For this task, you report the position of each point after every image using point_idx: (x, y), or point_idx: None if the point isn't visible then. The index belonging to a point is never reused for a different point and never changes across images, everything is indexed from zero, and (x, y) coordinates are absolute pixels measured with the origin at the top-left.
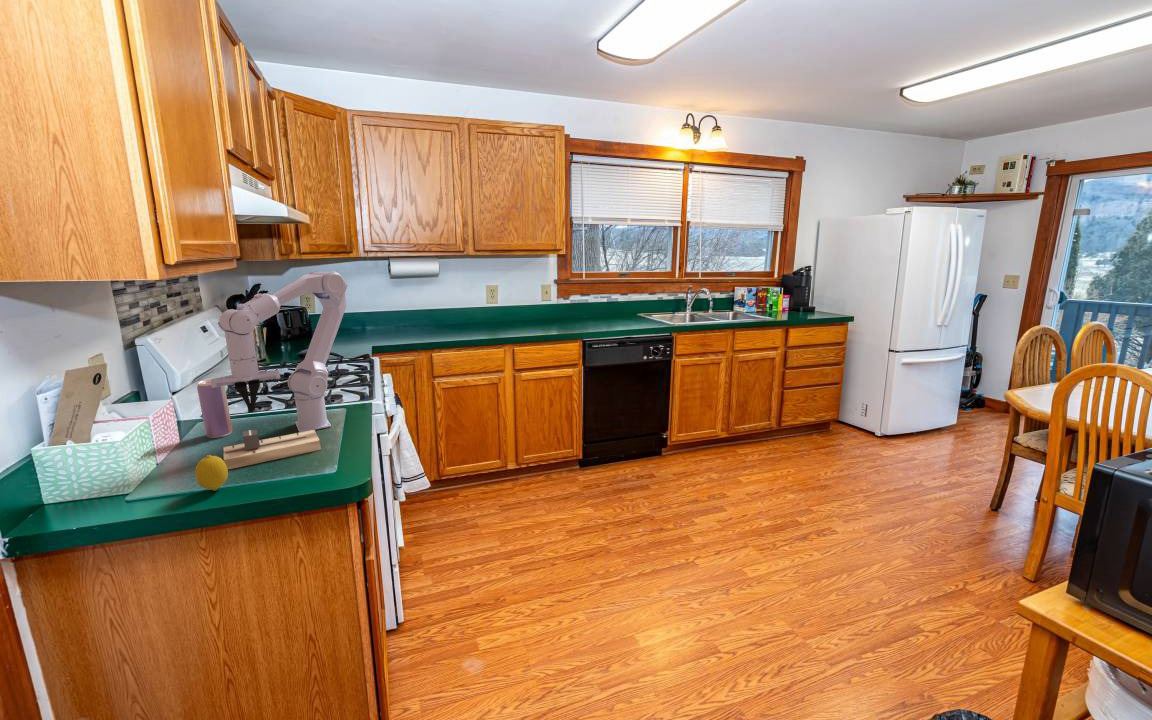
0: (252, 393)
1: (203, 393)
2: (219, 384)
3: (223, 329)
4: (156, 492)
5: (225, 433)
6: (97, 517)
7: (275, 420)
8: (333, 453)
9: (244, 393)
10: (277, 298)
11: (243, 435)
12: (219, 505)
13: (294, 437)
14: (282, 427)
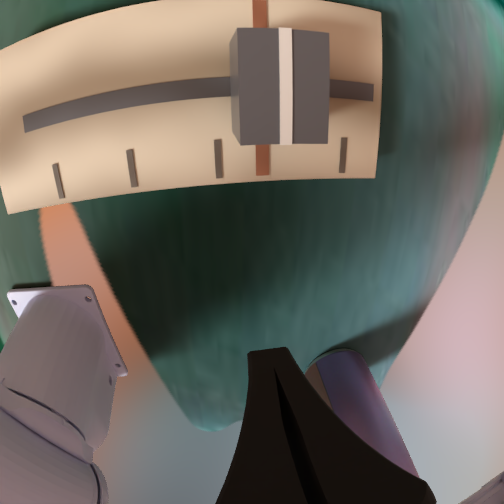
0: (272, 473)
1: (411, 467)
2: (494, 493)
3: None
4: (489, 16)
5: (325, 358)
6: None
7: (192, 407)
8: None
9: (347, 468)
10: None
11: (326, 59)
12: None
13: (67, 138)
14: (163, 359)
